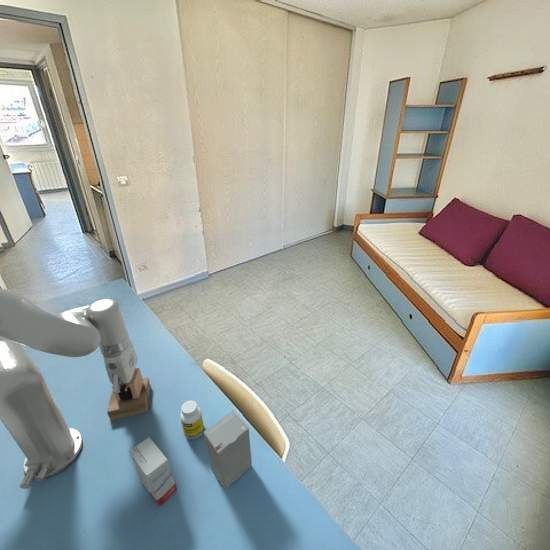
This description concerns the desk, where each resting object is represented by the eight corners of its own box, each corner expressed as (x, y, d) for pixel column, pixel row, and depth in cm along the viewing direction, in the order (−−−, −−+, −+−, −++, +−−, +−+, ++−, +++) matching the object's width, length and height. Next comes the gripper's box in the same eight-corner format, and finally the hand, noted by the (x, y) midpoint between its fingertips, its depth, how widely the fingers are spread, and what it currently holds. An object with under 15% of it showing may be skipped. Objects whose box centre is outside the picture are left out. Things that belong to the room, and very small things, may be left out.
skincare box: (237, 447, 79) (232, 406, 72) (254, 468, 74) (251, 427, 67) (209, 470, 74) (200, 428, 67) (225, 494, 69) (218, 452, 62)
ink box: (178, 490, 70) (169, 459, 65) (158, 508, 67) (147, 478, 62) (159, 465, 75) (149, 435, 70) (140, 480, 72) (128, 450, 67)
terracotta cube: (138, 398, 88) (134, 383, 85) (116, 400, 87) (111, 386, 85) (143, 382, 93) (139, 367, 91) (123, 384, 93) (118, 370, 90)
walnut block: (147, 412, 89) (144, 403, 87) (110, 421, 87) (106, 412, 85) (150, 386, 97) (148, 377, 96) (116, 393, 95) (113, 384, 93)
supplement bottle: (184, 442, 81) (178, 417, 76) (183, 424, 85) (178, 400, 80) (204, 436, 82) (200, 412, 77) (203, 419, 86) (199, 395, 82)
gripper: (119, 363, 75) (136, 412, 83) (136, 321, 90) (149, 366, 98) (86, 367, 74) (106, 416, 82) (110, 324, 89) (125, 369, 97)
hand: (129, 389), depth 90 cm, fingers closed on terracotta cube, 5 cm apart
